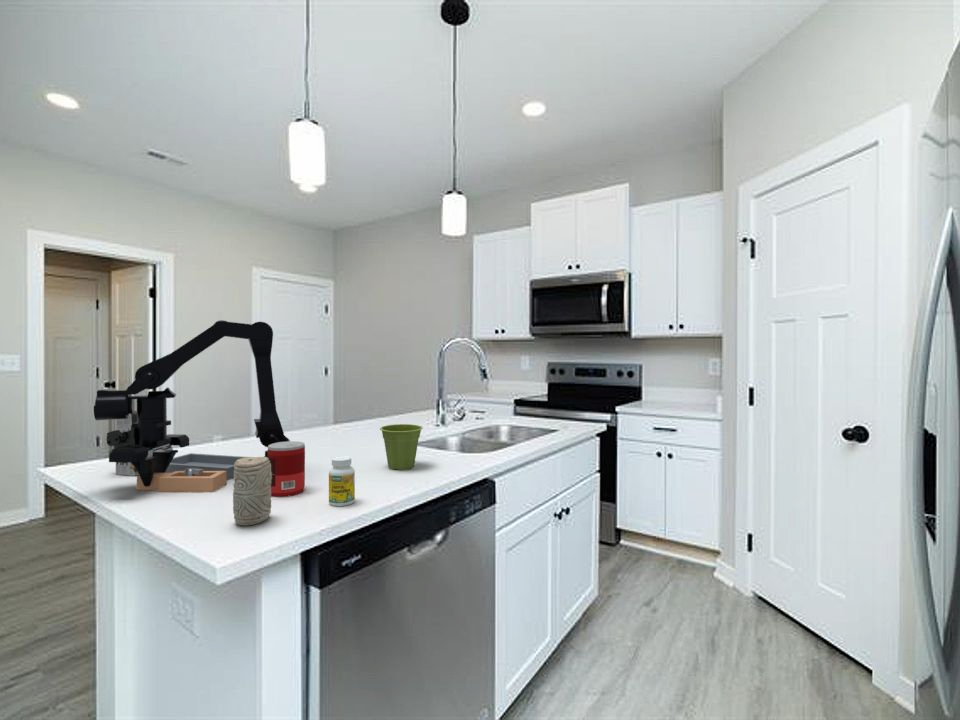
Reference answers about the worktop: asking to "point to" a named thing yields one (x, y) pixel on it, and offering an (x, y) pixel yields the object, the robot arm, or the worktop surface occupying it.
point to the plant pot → (401, 444)
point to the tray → (204, 463)
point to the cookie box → (124, 426)
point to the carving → (252, 490)
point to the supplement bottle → (341, 482)
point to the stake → (192, 471)
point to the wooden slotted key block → (185, 482)
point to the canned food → (287, 468)
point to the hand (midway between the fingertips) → (152, 484)
